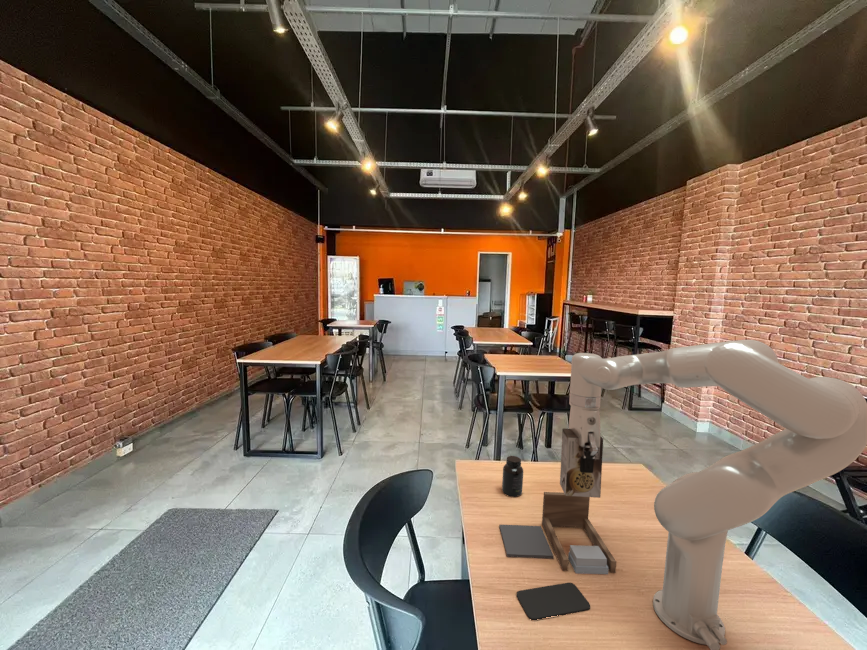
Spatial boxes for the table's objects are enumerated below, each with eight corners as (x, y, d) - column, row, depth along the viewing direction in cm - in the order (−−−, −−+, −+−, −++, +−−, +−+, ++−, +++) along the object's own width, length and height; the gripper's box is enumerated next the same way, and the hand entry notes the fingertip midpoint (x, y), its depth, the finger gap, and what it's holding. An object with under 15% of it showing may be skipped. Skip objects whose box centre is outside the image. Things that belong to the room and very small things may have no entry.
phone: (593, 608, 79) (530, 619, 76) (592, 611, 80) (530, 623, 76) (572, 581, 87) (514, 591, 83) (572, 584, 87) (514, 594, 83)
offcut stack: (607, 575, 90) (609, 560, 89) (575, 574, 90) (576, 559, 89) (598, 560, 95) (599, 545, 94) (567, 559, 95) (569, 544, 94)
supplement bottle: (497, 489, 127) (499, 455, 126) (513, 485, 130) (515, 452, 129) (509, 499, 121) (511, 464, 120) (526, 495, 124) (528, 461, 122)
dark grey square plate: (553, 558, 94) (553, 555, 94) (507, 556, 94) (507, 554, 94) (540, 528, 106) (540, 526, 106) (499, 527, 106) (499, 524, 106)
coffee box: (592, 485, 101) (596, 429, 100) (600, 498, 95) (604, 438, 93) (558, 483, 102) (561, 427, 101) (564, 496, 96) (568, 436, 94)
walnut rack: (615, 572, 90) (618, 534, 89) (562, 570, 90) (565, 532, 89) (585, 525, 108) (588, 493, 107) (541, 523, 108) (543, 491, 107)
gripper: (614, 411, 88) (609, 482, 89) (585, 391, 105) (582, 451, 106) (583, 410, 88) (579, 481, 89) (559, 391, 105) (556, 451, 107)
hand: (580, 464), depth 98 cm, fingers closed on coffee box, 6 cm apart
